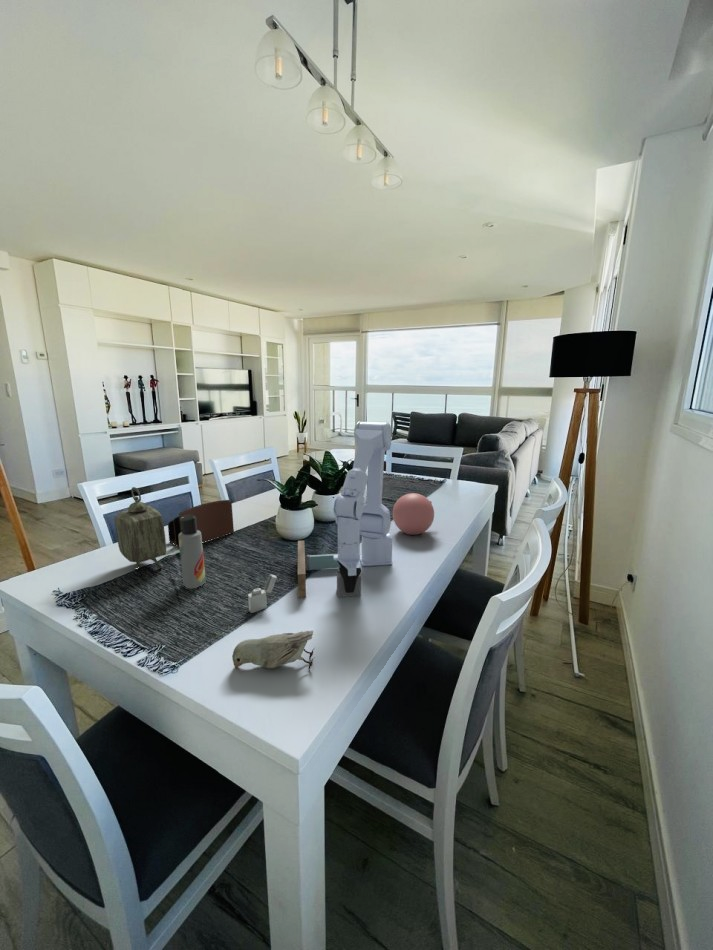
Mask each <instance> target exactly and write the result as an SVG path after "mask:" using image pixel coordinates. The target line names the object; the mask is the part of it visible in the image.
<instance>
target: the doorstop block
mask: <svg viewBox="0 0 713 950" xmlns="http://www.w3.org/2000/svg"><path fill="white" fill-rule="evenodd" d="M336 593H337V596H338V598H345V597H357V596H362V575H361V574H360V575H359V577H358V579H357V582H356V586H355V590H354V592H352V593H346V591H345V587H344V581H343V578H342V576H341V574H340V571H339V570H337V571H336Z"/></svg>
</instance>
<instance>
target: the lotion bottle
mask: <svg viewBox="0 0 713 950" xmlns="http://www.w3.org/2000/svg"><path fill="white" fill-rule="evenodd" d="M180 520H181V530H182V532H181V533H180V534H179V536H178V537H179V547H180V548H179V547H178V548H179V556H180V563H181V564H180V565H181V572H182V573H181V574H182V583H183V586H185V587H187V588H196V589H198V588H197V587H199V586H201V587H203V586H204V585H205V584H206V569H205V559H204V550H203V549H204V548H203V544H202V536H201V532H200V531H199V530H197V523H196V517H194V515H186V516H183V517H181V519H180ZM204 583H205V584H204ZM203 584H204V585H203ZM202 585H203V586H202ZM185 587H184V588H185ZM187 588H186V589H187ZM199 588H200V587H199Z"/></svg>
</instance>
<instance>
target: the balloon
mask: <svg viewBox="0 0 713 950" xmlns="http://www.w3.org/2000/svg"><path fill="white" fill-rule="evenodd" d="M432 503H433V502H432V501H431V500H429V498H427V497H426V496H425V495H422V494H420V493H415V492H411V493H407V494H403V495H402V496H400V497H399V498H398V499H397V501H396V502H395V503H394V505H393V508H392V519H393V522H394V524H395V526H396V528H397V529H399V530H400V531H401V532H403V533H405V534H407V535H412V536H414V535H420V534H421V535H422V534H423V533H424V532H427V531H428V530H429V529H430V528H431V526H432V524H433V522H434V520H435V519H434V518H435V509H434V506H433V504H432Z"/></svg>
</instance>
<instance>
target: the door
mask: <svg viewBox="0 0 713 950" xmlns="http://www.w3.org/2000/svg"><path fill="white" fill-rule="evenodd" d="M334 555H338V553H327V554H312V555H310V554H307V555H306V554H305V571H312V570H329V569H339V568H340V565H339V563H338V562H337V561H335V560H334V559H333V556H334Z"/></svg>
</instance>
